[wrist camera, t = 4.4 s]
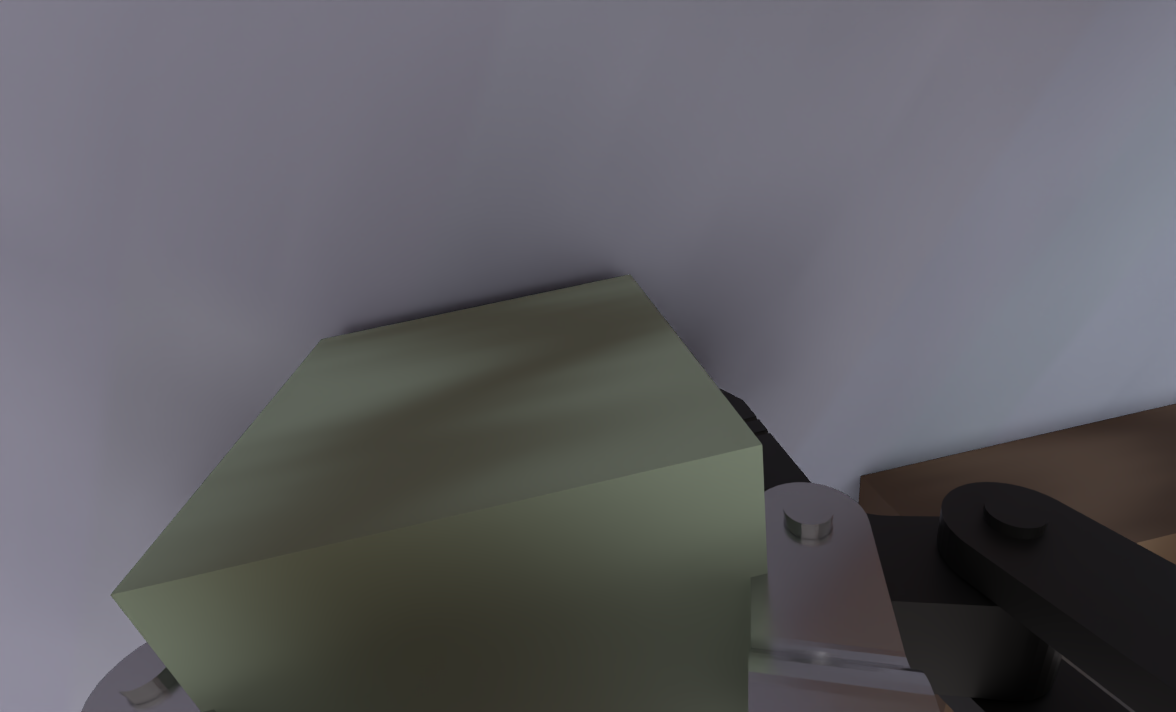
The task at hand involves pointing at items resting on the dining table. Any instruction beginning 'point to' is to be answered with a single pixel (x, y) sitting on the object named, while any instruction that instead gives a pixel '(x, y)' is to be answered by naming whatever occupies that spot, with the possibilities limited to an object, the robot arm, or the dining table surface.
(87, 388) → the dining table surface
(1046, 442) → the bottom slab
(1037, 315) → the dining table surface
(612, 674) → the green cube
